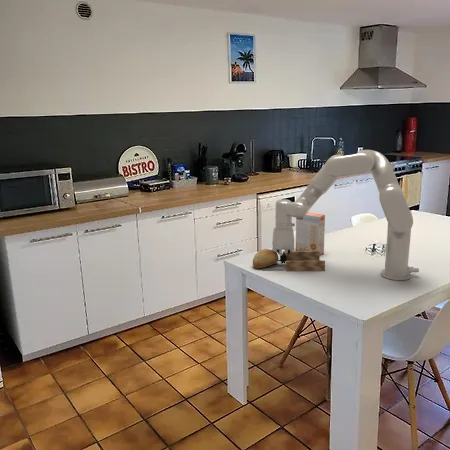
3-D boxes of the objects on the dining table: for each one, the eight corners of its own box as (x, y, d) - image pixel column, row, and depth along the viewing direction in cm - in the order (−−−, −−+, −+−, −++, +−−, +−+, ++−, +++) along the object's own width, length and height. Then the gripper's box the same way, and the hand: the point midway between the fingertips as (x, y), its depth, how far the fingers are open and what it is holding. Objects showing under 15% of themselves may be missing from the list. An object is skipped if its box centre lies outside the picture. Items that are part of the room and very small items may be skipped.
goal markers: (280, 260, 223) (280, 259, 223) (283, 270, 210) (283, 269, 210) (260, 260, 224) (260, 259, 224) (262, 270, 210) (262, 269, 210)
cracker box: (324, 253, 232) (325, 214, 227) (318, 256, 228) (319, 216, 222) (301, 248, 241) (302, 210, 236) (295, 251, 237) (295, 212, 232)
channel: (318, 259, 224) (319, 250, 222) (324, 270, 208) (325, 261, 207) (282, 259, 224) (282, 251, 223) (285, 271, 209) (286, 261, 208)
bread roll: (284, 264, 218) (284, 248, 216) (262, 272, 208) (262, 255, 206) (269, 259, 225) (269, 244, 223) (248, 267, 215) (248, 251, 213)
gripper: (298, 223, 215) (297, 260, 220) (267, 224, 215) (267, 260, 220) (300, 227, 208) (299, 265, 212) (268, 228, 208) (268, 265, 213)
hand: (283, 262), depth 216 cm, fingers closed
